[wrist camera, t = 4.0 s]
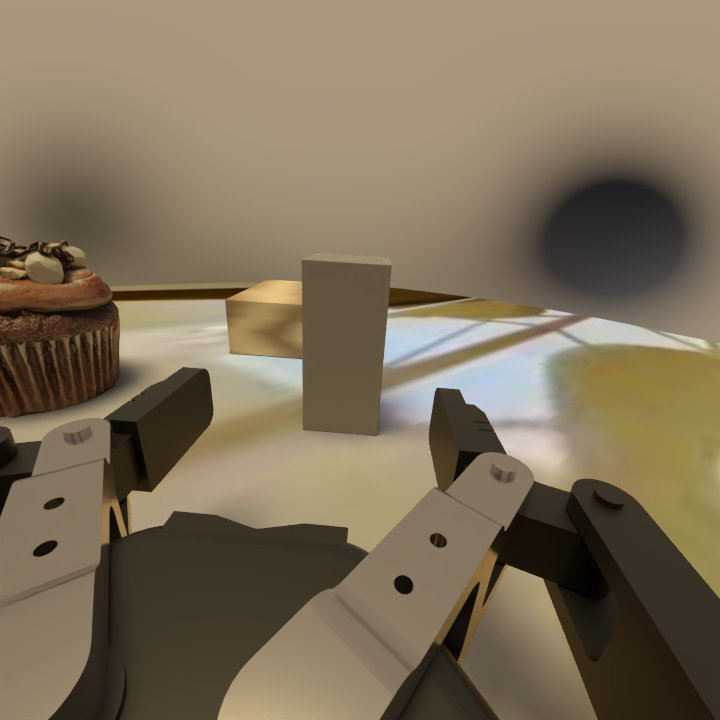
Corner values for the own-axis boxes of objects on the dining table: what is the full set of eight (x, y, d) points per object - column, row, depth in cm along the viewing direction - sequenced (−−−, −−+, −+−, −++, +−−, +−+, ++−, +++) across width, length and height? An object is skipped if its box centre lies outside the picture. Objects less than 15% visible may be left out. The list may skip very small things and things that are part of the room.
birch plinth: (230, 353, 32) (225, 299, 30) (269, 320, 43) (268, 279, 41) (358, 362, 31) (362, 309, 29) (365, 326, 42) (367, 286, 41)
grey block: (303, 429, 21) (301, 259, 17) (316, 395, 25) (317, 252, 21) (376, 435, 21) (391, 265, 17) (377, 400, 25) (389, 257, 21)
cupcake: (130, 355, 30) (105, 234, 26) (135, 402, 23) (101, 244, 19) (-25, 375, 25) (-83, 229, 21) (-84, 444, 18) (-188, 240, 14)
